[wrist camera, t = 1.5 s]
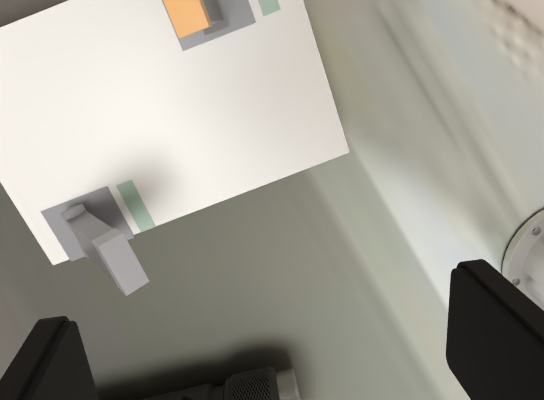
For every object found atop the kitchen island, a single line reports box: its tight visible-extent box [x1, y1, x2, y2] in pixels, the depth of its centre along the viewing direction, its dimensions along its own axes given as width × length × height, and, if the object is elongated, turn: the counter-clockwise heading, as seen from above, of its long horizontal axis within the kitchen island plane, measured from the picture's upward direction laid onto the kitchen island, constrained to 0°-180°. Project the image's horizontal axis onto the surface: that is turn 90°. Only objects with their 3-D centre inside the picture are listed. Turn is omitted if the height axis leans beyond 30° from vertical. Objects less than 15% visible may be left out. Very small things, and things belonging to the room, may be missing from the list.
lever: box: [61, 204, 149, 296], centre depth 28 cm, size 2×4×11 cm
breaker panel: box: [0, 0, 349, 265], centre depth 33 cm, size 24×16×5 cm
